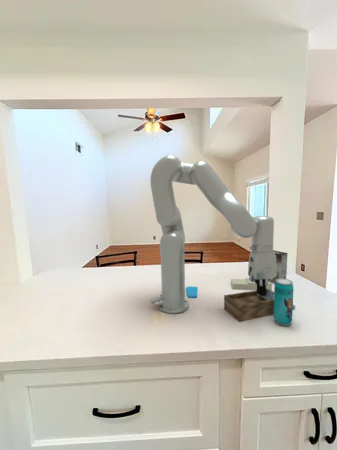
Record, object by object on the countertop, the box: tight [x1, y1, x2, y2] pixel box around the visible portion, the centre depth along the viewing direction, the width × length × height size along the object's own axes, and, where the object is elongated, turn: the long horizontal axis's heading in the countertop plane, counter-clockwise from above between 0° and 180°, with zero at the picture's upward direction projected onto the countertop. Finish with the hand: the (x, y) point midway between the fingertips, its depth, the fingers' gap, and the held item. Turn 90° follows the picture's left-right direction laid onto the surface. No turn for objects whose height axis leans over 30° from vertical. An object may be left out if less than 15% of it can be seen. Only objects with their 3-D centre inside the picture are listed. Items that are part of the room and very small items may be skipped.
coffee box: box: [269, 249, 288, 284], centre depth 113 cm, size 9×6×16 cm
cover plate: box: [257, 288, 296, 310], centre depth 86 cm, size 13×7×4 cm, turn 104°
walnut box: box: [223, 290, 274, 323], centre depth 83 cm, size 16×10×6 cm, turn 107°
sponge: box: [185, 286, 198, 299], centre depth 102 cm, size 2×12×6 cm
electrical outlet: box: [230, 277, 273, 291], centre depth 107 cm, size 7×4×18 cm
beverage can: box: [273, 278, 294, 327], centre depth 74 cm, size 6×6×15 cm
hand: (261, 294), depth 84 cm, fingers closed
